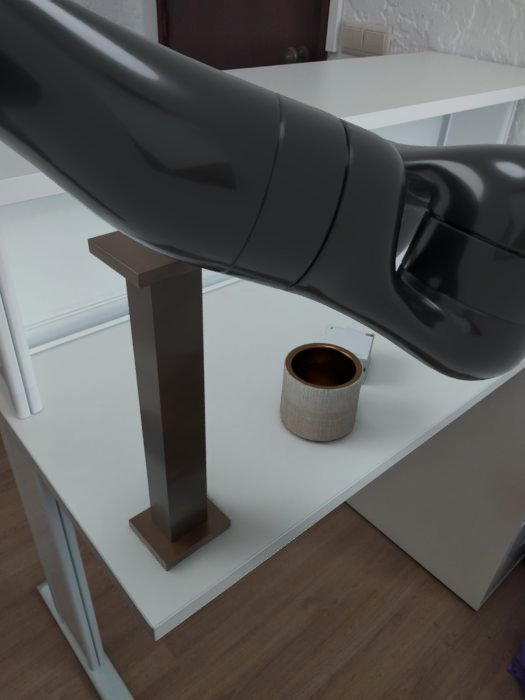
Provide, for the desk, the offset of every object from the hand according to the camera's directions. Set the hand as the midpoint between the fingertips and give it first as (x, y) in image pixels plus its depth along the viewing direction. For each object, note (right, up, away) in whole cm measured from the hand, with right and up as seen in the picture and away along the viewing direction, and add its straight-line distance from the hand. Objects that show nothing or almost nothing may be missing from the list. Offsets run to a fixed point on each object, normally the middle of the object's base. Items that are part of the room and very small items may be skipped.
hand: (174, 106), depth 49 cm
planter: (+15, -31, +34) cm, 49 cm away
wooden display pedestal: (-2, -41, +18) cm, 45 cm away
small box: (+21, -24, +45) cm, 55 cm away
